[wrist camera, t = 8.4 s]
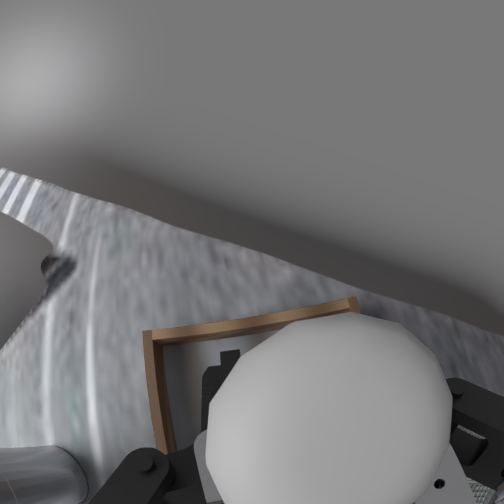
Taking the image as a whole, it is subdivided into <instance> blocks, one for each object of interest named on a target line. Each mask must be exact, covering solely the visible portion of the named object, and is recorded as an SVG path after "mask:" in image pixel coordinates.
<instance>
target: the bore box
mask: <svg viewBox="0 0 504 504" xmlns="http://www.w3.org/2000/svg"><path fill="white" fill-rule="evenodd" d="M347 312H354V313H358V314H361V312H360V309H359V305H358V302H357V299H356V297H352V298H347V299H343V300H338V301H334V302H329V303H324V304H319V305H314V306H309V307H304V308H299V309H294V310H288V311H283V312H277V313H272V314H266V315H260V316H254V317H248V318H242V319H235V320H228V321H222V322H215V323H207V324H200V325H192V326H184V327H175V328H166V329H157V330H147V331H143V346H144V359H145V370H146V379H147V388H148V396H149V404H150V411H151V418H152V424H153V430H154V436H155V441H156V447H157V450H159V451H161V452H162V453H164V454H165V455H166V454H169V453H173V452H176V451H180V450H183V449H185V448H187V447H189V446H191V445H192V444H193V443H194V442H195V440H196V438H197V437H198V435H199V434H200V432H201V398H202V376H203V374H204V372H205V371H206V369H207V368H208V367H209V366H217V365H221V363H220V352H222V351H229V350H236V349H240V355H241V356H242V355H244V354H245V353H247V352H248V351H250V350H251V349H253V348H254V347H256V346H257V345H259V344H260V343H262V342H263V341H265V340H266V339H268V338H269V337H271V336H272V335H274V334H275V333H276V332H278V331H279V330H281V329H282V328H284V327H285V326H286V325H288V324H291V323H293V322H295V321H301V320H307V319H313V318H319V317H325V316H331V315H336V314H341V313H347Z"/></svg>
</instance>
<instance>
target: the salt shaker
mask: <svg viewBox="0 0 504 504" xmlns="http://www.w3.org/2000/svg"><path fill="white" fill-rule="evenodd" d="M452 398H453V397H452V394H451V392H450V389H449V387H448V384H447V382H446V379H445V377H444V374H443V372H442V369H441V367H440V365H439V362H438V360H437V358H436V356H435V354H434V353H433V352H432V351H431V350H429V349H428V348H427V347H426V346H425V345H424V344H423V343H422V342H421V341H419V340H418V339H417V338H416V337H415V336H414V335H413V334H412V333H410V332H409V331H408V330H407V329H406V328H405V327H404V326H402V325H401V324H400V323H396V322H392V321H388V320H383V319H379V318H375V317H371V316H367V315H363V314H358V313H354V312H347V313H341V314H336V315H331V316H325V317H319V318H313V319H307V320H301V321H295V322H293V323H291V324H288V325H286V326H285V327H284V328H282V329H281V330H279V331H278V332H276V333H275V334H274V335H272V336H271V337H269V338H268V339H266V340H265V341H263V342H262V343H260V344H259V345H257V346H256V347H254V348H253V349H251V350H250V351H248V352H247V353H245V354H244V355H242V356H241V357H240V358H239V360H238V361H237V363H236V364H235V366H234V367H233V369H232V370H231V372H230V373H229V375H228V376H227V378H226V380H225V381H224V383H223V384H222V386H221V387H220V389H219V390H218V392H217V393H216V395H215V396H214V397H213V399H212V400H211V402H210V404H209V416H208V428H207V440H206V453H205V458H206V465H207V468H208V470H209V472H210V474H211V477H212V479H213V481H214V483H215V485H216V487H217V489H218V491H219V493H220V495H221V497H222V499H223V501H224V503H225V504H413V503H414V502H415V501H416V500H417V499H418V498H420V497H421V496H422V495H423V494H424V493H425V492H426V490H427V489H428V487H429V485H430V483H431V481H432V480H433V478H434V476H435V474H436V472H437V470H438V468H439V466H440V464H441V462H442V460H443V458H444V455H445V453H446V451H447V449H448V447H449V441H450V432H451V419H452Z"/></svg>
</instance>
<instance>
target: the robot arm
mask: <svg viewBox="0 0 504 504" xmlns="http://www.w3.org/2000/svg"><path fill="white" fill-rule="evenodd" d="M240 357H241V355H240V349H236V350H229V351H222V352H220V363H221V365H217V366H209V367H208V368H207V369H206V371H205V372H204V374H203V376H202V398H201V432H200V434H199V435H198V437H197V438H196V440H195V442H194V443H193V444H192V445H191V446H189V447H187V448H185V449H183V450H180V451H176V452H173V453H169V454H166V455H165V454H164V453H162V452H161V451H159V450H157V449H154V448H140V449H136V450H134V451H132V452H131V453H130V454H128V455H127V456H126V458H125V459H124V460H123V461H122V463H121V464H120V465H119V467H118V468H117V469H116V470H115V472H114V473H113V474H112V475H111V477H110V478H109V479H108V481H107V482H106V483H105V484H104V486H103V487H102V488H101V489H100V491H99V492H98V493H97V494H96V496H95V497H94V498H93V499H92V501H91V502H90V503H89V504H225V503H224V501H223V499H222V497H221V495H220V493H219V491H218V489H217V487H216V485H215V483H214V481H213V479H212V477H211V474H210V472H209V470H208V468H207V465H206V458H205V453H206V440H207V428H208V416H209V404H210V402H211V400H212V399H213V397H214V396H215V395H216V393H217V392H218V390H219V389H220V387H221V386H222V384H223V383H224V381H225V380H226V378H227V376H228V375H229V373H230V372H231V370H232V369H233V367H234V366H235V364H236V363H237V361H238V360H239V358H240ZM446 382H447V384H448V387H449V389H450V392H451V394H452V397H453V398H452V419H451V432H450V441H449V447H448V449H447V451H446V453H445V455H444V458H443V460H442V462H441V464H440V466H439V468H438V470H437V472H436V474H435V476H434V478H433V480H432V481H431V483H430V485H429V487H428V489H427V490H426V492H425V493H424V494H423V495H422V496H421V497H420V498H418V499H417V500H416V501H415V502H414V503H413V504H477V502H476V499H475V497H474V494H473V492H472V490H471V487H470V485H469V483H468V480H467V478H466V477H468V478H470V479H472V480H474V481H476V482H478V483H480V484H482V485H484V486H486V487H488V488H491V489H493V490H495V491H497V495H496V496H495V503H496V504H504V397H502V396H500V395H497V394H495V393H493V392H490V391H488V390H486V389H483V388H481V387H479V386H477V385H474V384H472V383H470V382H467V381H465V380H463V379H460V378H448V379H446ZM458 424H459V425H461V426H463V427H465V428H467V429H469V430H471V431H473V432H475V433H477V434H479V435H482V436H484V437H485V438H486V439H479V438H477V437H475V436H473V435H471V434H468V433H466V432H464V431H462V430H460V429H458V428H457V426H458ZM87 493H88V485H87V480H86V478H85V475H84V473H83V471H82V469H81V467H80V466H79V464H78V463H77V462H76V461H75V459H74V458H73V457H72V456H71V455H70V454H69V453H67V452H66V451H64V450H63V449H61V448H59V447H57V446H39V447H24V448H0V504H78V503H81V502H82V501H84V500H85V498H86V497H87Z"/></svg>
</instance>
